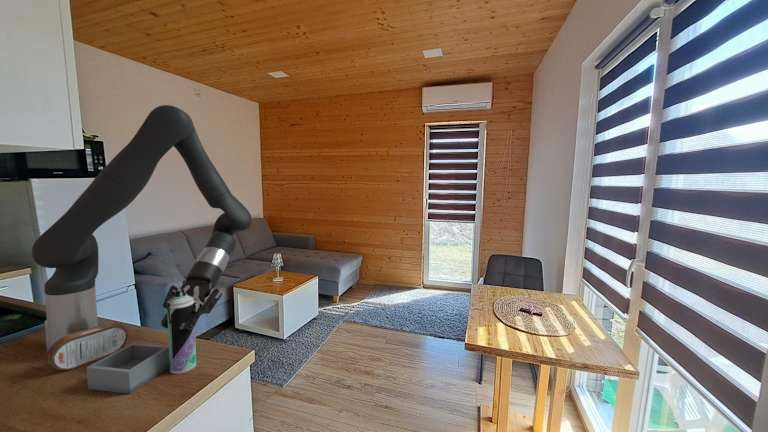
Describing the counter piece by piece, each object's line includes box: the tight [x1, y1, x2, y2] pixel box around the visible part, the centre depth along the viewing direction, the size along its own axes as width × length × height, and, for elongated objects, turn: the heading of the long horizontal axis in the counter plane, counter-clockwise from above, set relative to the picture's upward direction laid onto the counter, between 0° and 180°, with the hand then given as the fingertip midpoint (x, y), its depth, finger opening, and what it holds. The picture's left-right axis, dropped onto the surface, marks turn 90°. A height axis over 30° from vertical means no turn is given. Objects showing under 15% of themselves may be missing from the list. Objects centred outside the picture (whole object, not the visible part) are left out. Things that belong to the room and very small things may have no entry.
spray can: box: [166, 289, 197, 375], centre depth 73 cm, size 6×6×20 cm
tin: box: [45, 322, 129, 371], centre depth 75 cm, size 15×3×8 cm, turn 152°
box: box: [86, 342, 170, 395], centre depth 70 cm, size 11×11×5 cm
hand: (175, 327), depth 71 cm, fingers closed on spray can, 5 cm apart
